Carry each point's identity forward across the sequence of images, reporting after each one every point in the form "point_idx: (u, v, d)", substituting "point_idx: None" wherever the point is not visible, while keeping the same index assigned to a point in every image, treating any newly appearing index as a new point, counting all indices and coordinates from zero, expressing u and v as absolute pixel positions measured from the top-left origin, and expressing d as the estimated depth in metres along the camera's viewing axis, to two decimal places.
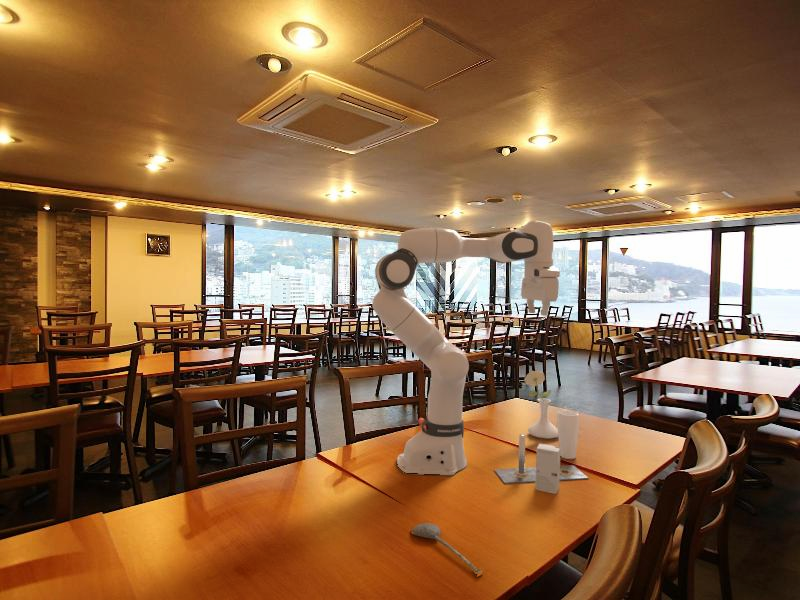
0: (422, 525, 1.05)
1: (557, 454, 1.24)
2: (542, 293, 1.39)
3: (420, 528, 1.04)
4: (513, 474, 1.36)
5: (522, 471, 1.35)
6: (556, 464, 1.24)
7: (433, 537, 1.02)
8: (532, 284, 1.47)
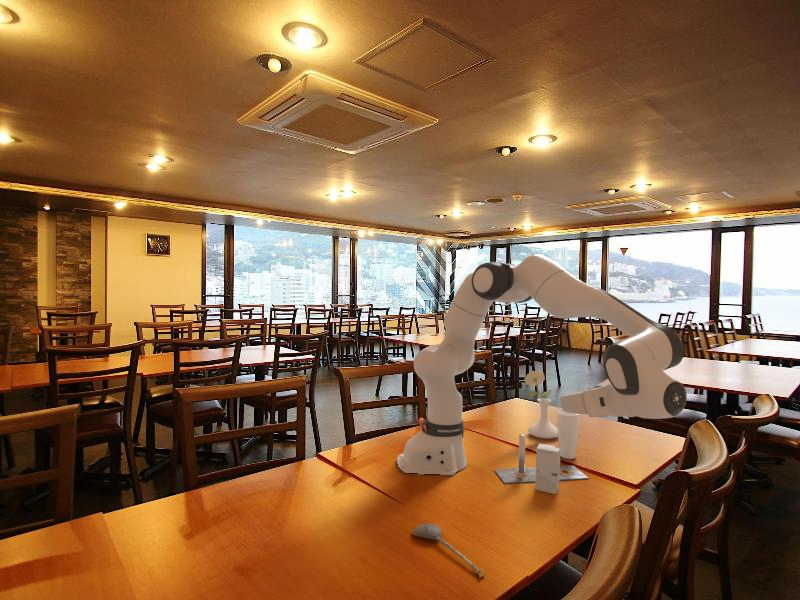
0: (423, 526, 1.05)
1: (557, 454, 1.24)
2: None
3: (421, 528, 1.04)
4: (513, 474, 1.36)
5: (522, 471, 1.35)
6: (556, 464, 1.24)
7: (435, 537, 1.01)
8: None
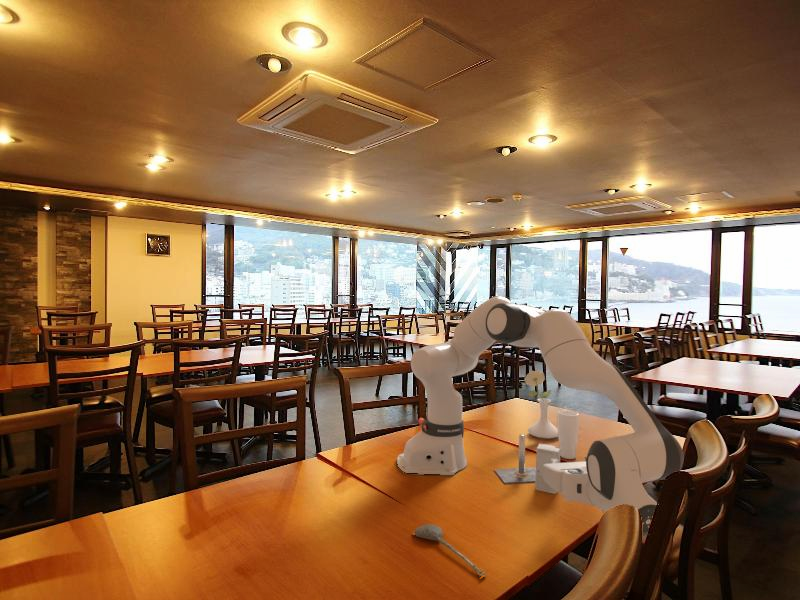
0: (424, 526, 1.04)
1: (557, 454, 1.24)
2: (557, 466, 1.07)
3: (422, 529, 1.03)
4: (513, 474, 1.36)
5: (522, 471, 1.35)
6: None
7: (436, 538, 1.01)
8: None
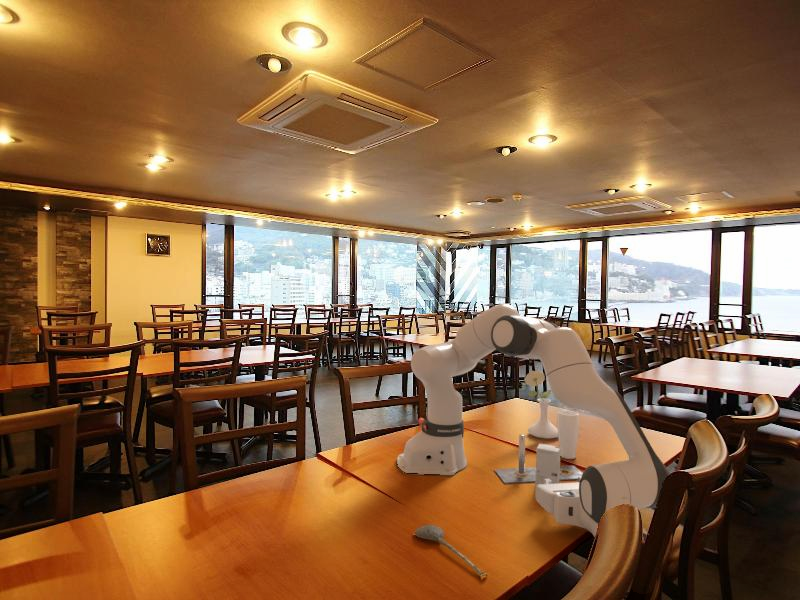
0: (425, 527, 1.04)
1: (557, 454, 1.24)
2: (549, 487, 1.10)
3: (423, 530, 1.03)
4: (513, 474, 1.36)
5: (522, 471, 1.35)
6: (556, 464, 1.24)
7: (437, 539, 1.01)
8: None
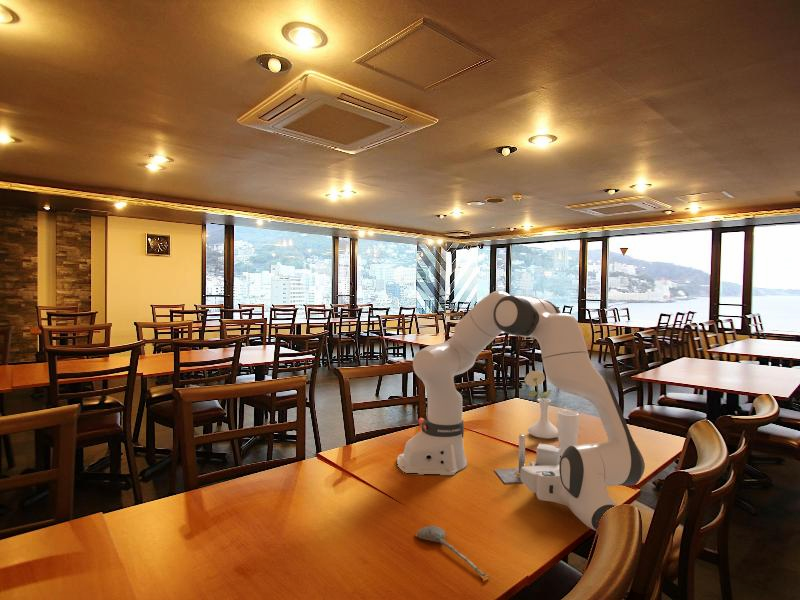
0: (427, 528, 1.04)
1: (557, 454, 1.24)
2: (533, 469, 1.20)
3: (425, 531, 1.03)
4: (513, 474, 1.36)
5: None
6: (556, 464, 1.24)
7: (438, 540, 1.00)
8: None
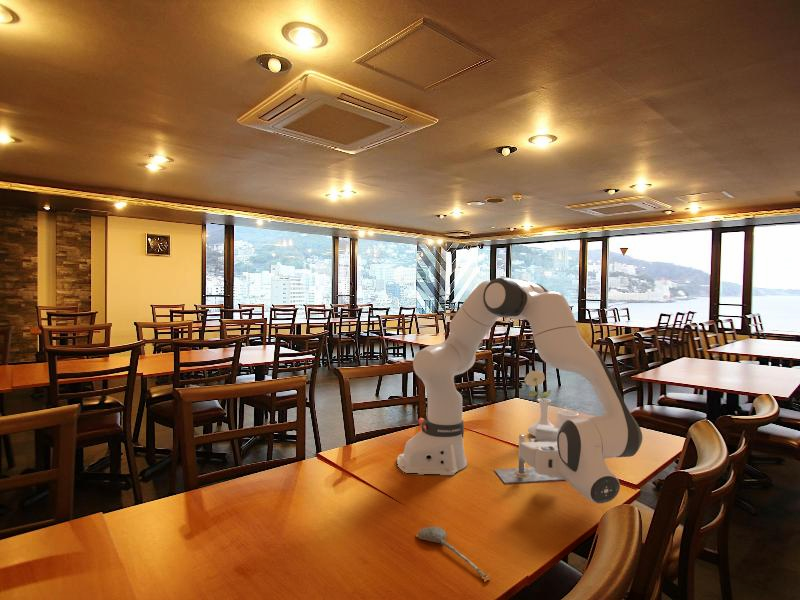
0: (428, 529, 1.03)
1: (556, 434, 1.24)
2: (532, 444, 1.20)
3: (426, 531, 1.02)
4: (513, 474, 1.36)
5: (522, 471, 1.35)
6: None
7: (439, 541, 1.00)
8: None
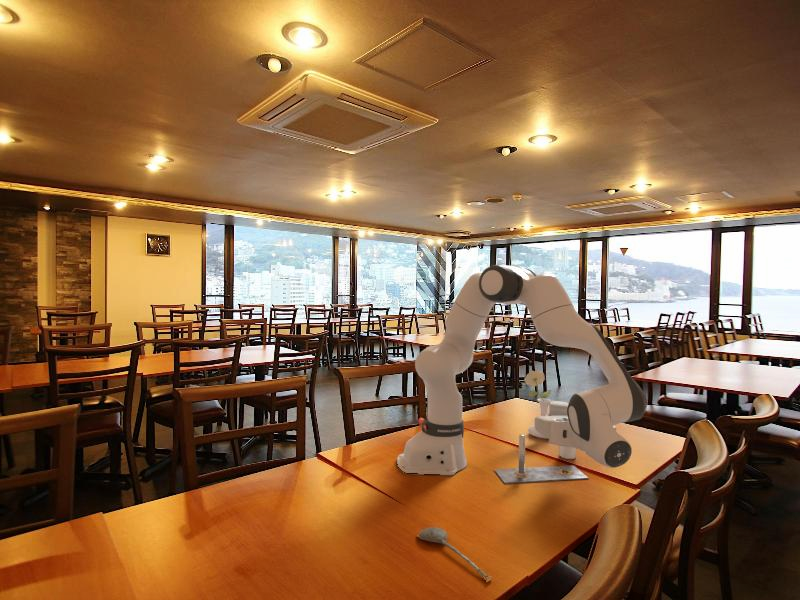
0: (429, 529, 1.03)
1: None
2: (547, 418, 1.26)
3: (427, 532, 1.02)
4: (513, 474, 1.36)
5: (522, 471, 1.35)
6: None
7: (440, 541, 1.00)
8: None
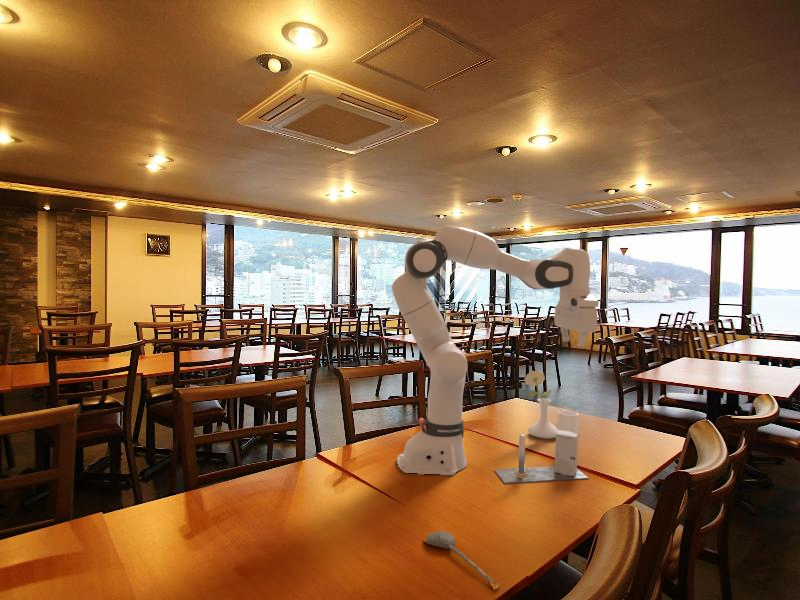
0: (436, 534, 1.01)
1: (575, 439, 1.34)
2: (580, 323, 1.35)
3: (434, 536, 1.01)
4: (513, 474, 1.36)
5: (522, 471, 1.35)
6: (574, 448, 1.34)
7: (447, 546, 0.98)
8: (567, 312, 1.42)
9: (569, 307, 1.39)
